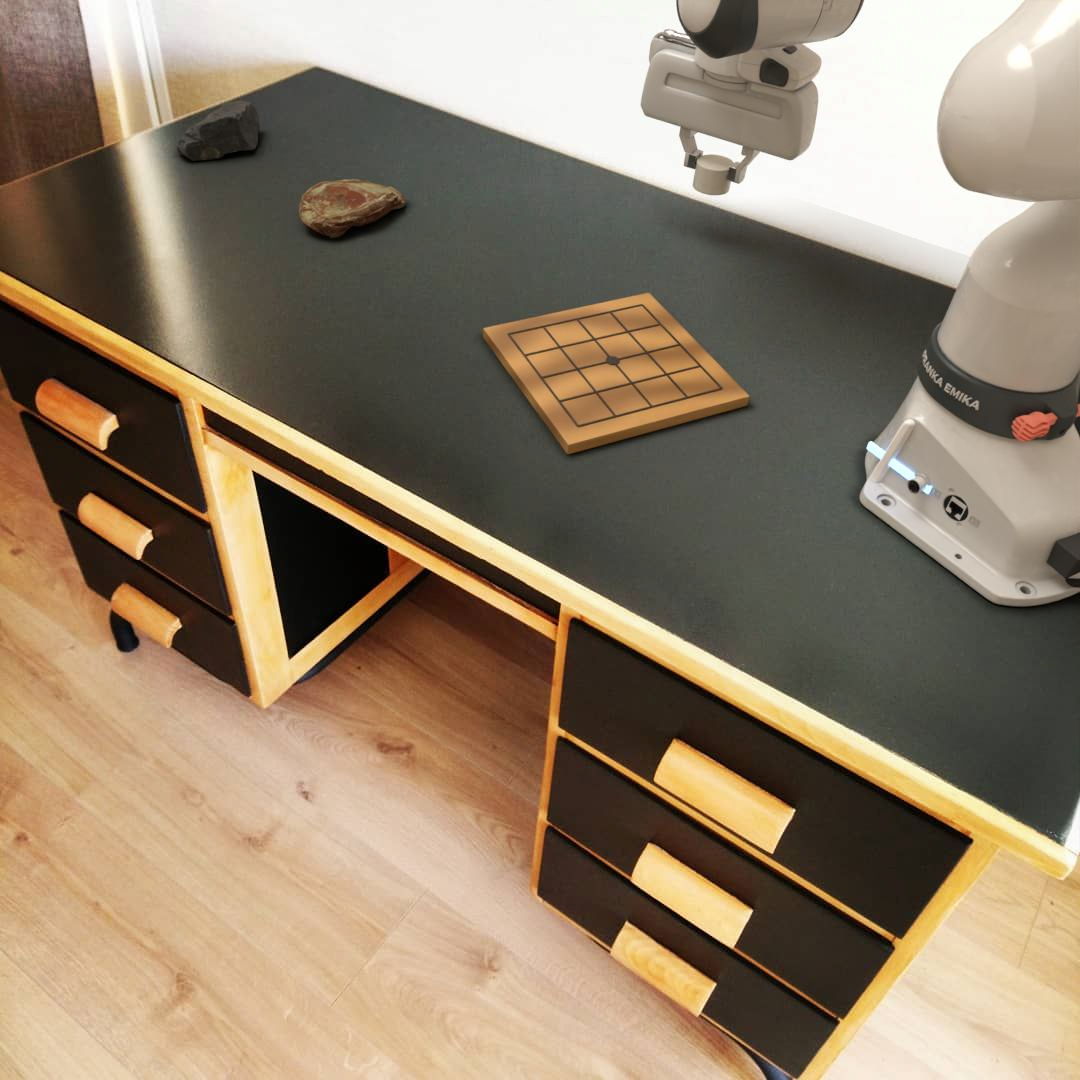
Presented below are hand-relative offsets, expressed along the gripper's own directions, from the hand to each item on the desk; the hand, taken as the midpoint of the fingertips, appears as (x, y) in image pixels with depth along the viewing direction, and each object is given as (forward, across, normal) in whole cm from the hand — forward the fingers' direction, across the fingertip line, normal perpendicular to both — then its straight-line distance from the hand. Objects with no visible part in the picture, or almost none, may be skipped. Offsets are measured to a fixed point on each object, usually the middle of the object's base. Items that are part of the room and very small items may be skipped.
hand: (713, 173), depth 110 cm
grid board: (+8, +6, -31) cm, 33 cm away
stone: (+8, -36, -24) cm, 44 cm away
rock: (+8, -61, -21) cm, 65 cm away
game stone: (+2, 0, 0) cm, 2 cm away
